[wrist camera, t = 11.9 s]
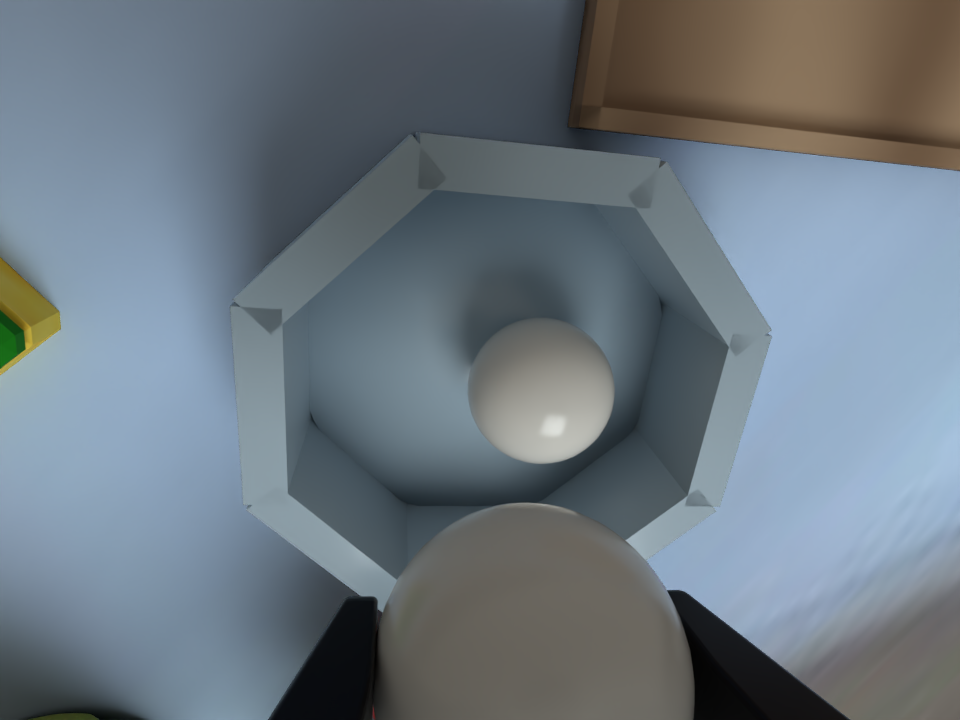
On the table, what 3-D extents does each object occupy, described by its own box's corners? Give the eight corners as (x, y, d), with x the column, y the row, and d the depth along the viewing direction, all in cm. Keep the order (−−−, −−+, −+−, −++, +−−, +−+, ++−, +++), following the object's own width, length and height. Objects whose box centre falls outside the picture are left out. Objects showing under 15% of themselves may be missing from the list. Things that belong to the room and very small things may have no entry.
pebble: (600, 642, 10) (711, 934, 6) (374, 650, 9) (355, 976, 6) (645, 450, 8) (822, 684, 5) (383, 443, 8) (364, 706, 4)
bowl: (721, 164, 16) (821, 175, 12) (635, 521, 20) (688, 610, 16) (266, 115, 14) (217, 111, 10) (282, 521, 18) (251, 622, 14)
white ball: (594, 302, 16) (655, 350, 13) (573, 420, 18) (623, 492, 14) (463, 296, 15) (491, 345, 12) (452, 419, 17) (473, 496, 13)
